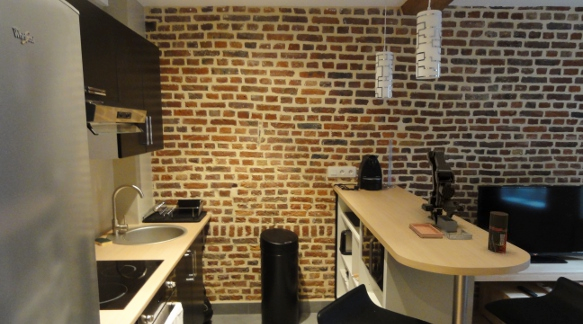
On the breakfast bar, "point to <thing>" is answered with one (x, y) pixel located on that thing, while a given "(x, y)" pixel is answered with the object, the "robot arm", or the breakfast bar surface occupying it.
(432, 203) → the robot arm
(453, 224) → the box
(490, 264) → the breakfast bar surface
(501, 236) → the deodorant
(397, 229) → the breakfast bar surface
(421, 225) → the tray
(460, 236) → the bay
